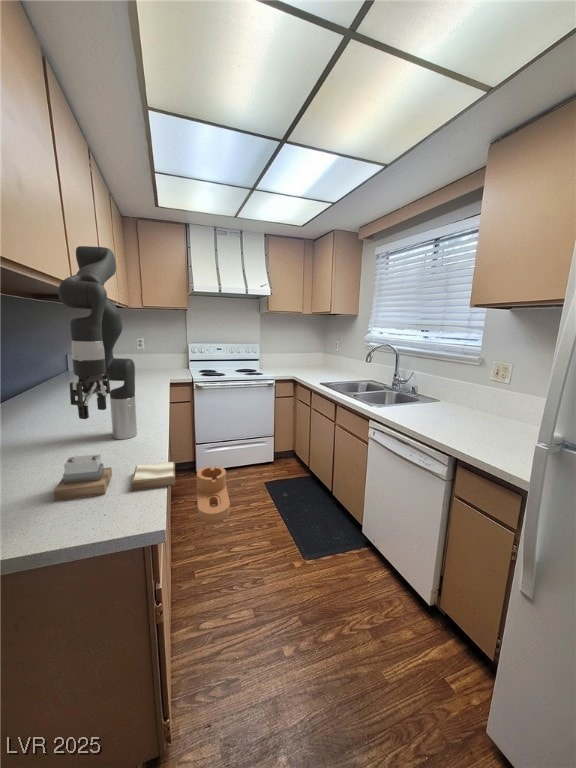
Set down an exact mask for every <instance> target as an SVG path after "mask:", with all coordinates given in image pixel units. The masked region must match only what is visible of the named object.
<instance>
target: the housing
mask: <svg viewBox="0 0 576 768" xmlns="http://www.w3.org/2000/svg"><path fill="white" fill-rule="evenodd" d="M63 467H64V473H63V474H62V476H63V477H62V478H63V480H64V485H65V484H73V483H82V482H91V481H99V480H101V478H102V476H103V474H104V468H105V467H104V463H102V455H101V454H90V455H81V456H69V458H68V459H67V460H66V461H65V463H64V464H63Z"/></svg>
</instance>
